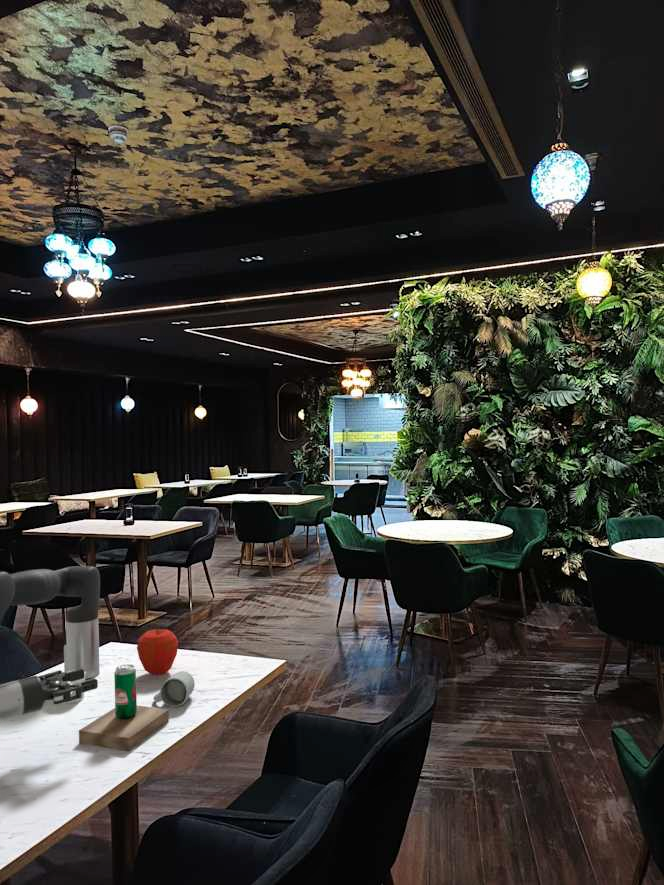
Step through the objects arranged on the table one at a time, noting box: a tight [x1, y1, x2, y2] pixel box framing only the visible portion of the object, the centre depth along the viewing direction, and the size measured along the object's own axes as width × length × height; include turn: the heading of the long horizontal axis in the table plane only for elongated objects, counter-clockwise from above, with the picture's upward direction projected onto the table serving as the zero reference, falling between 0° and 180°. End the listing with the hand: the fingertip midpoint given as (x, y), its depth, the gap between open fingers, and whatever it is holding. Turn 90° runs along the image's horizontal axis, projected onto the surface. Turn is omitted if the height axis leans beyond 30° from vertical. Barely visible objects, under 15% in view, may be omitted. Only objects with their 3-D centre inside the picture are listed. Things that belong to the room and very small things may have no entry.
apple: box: [136, 627, 179, 676], centre depth 193 cm, size 12×12×14 cm
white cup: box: [64, 670, 86, 704], centre depth 175 cm, size 7×7×7 cm
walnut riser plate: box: [78, 705, 170, 752], centre depth 154 cm, size 14×16×3 cm
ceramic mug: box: [153, 671, 196, 708], centre depth 172 cm, size 11×8×8 cm
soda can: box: [113, 664, 138, 719], centre depth 157 cm, size 5×5×12 cm
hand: (90, 678), depth 151 cm, fingers open, 8 cm apart
